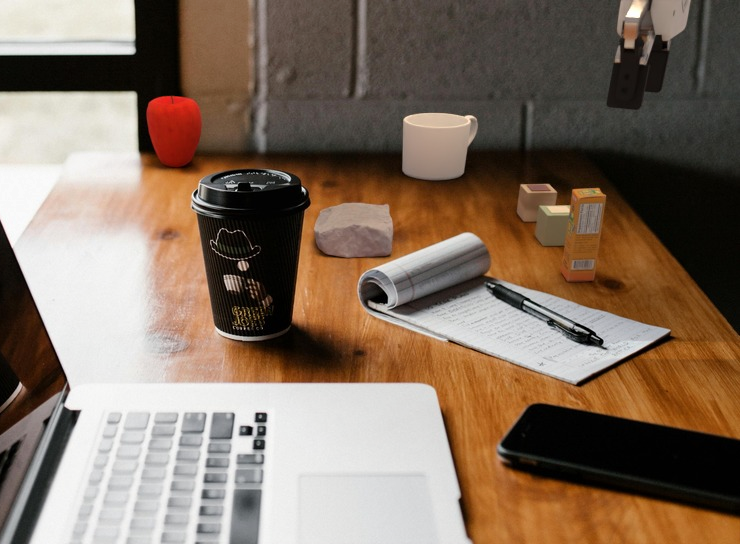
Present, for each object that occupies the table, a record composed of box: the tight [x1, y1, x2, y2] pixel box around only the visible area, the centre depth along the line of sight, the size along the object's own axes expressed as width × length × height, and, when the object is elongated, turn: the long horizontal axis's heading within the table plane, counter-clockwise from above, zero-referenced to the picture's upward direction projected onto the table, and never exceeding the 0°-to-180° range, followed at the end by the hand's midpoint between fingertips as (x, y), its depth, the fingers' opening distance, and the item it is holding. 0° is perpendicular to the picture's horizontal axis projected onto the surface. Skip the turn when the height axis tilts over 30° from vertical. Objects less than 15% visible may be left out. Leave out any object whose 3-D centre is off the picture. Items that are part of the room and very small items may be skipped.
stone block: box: [313, 202, 394, 259], centre depth 110 cm, size 12×5×10 cm
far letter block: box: [516, 183, 558, 223], centre depth 118 cm, size 4×4×4 cm
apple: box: [146, 95, 203, 168], centre depth 141 cm, size 9×9×11 cm
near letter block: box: [534, 204, 571, 247], centre depth 110 cm, size 4×4×4 cm
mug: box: [401, 112, 479, 181], centre depth 137 cm, size 13×10×8 cm
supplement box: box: [560, 187, 607, 283], centre depth 97 cm, size 3×3×10 cm
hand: (634, 99), depth 86 cm, fingers open, 9 cm apart
